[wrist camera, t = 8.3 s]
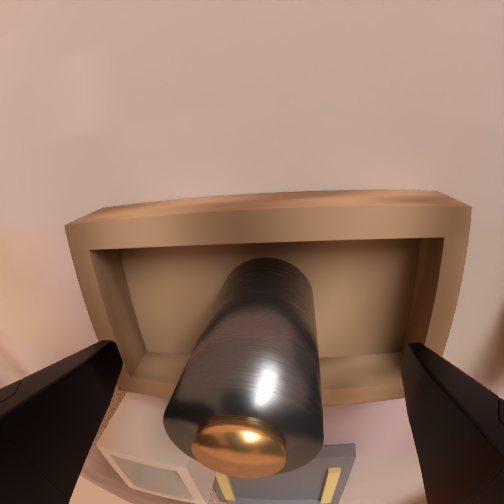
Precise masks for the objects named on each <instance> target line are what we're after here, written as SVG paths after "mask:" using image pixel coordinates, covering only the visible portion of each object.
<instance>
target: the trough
mask: <svg viewBox="0 0 504 504" xmlns="http://www.w3.org/2000/svg"><path fill="white" fill-rule="evenodd" d="M471 210H472V207H471V206H469V205H467V204H465V203H463V202H460V201H458V200H456V199H454V198H451V197H449V196H447V195H445V194H442V193H440V192H437V191H410V190H344V191H305V192H280V193H260V194H243V195H228V196H215V197H202V198H190V199H179V200H168V201H158V202H149V203H140V204H131V205H122V206H114V207H106V208H102V209H100V210H97V211H95V212H93V213H90V214H88V215H86V216H84V217H82V218H79V219H77V220H75V221H73V222H71V223H69V224H66V225H64V226H65V231H66V235H67V239H68V244H69V248H70V252H71V256H72V260H73V263H74V267H75V271H76V274H77V278H78V281H79V285H80V288H81V291H82V295H83V298H84V301H85V304H86V307H87V310H88V313H89V316H90V319H91V322H92V324H93V327H94V330H95V333H96V335H97V338H98V341H101V340H113V341H115V342H116V344H117V346H118V349H119V352H120V354H121V357H122V360H123V367H122V370H121V373H120V376H119V379H118V381H117V386H118V388H119V390H123V391H129V392H134V393H140V394H145V395H151V396H158V397H165V398H171V396H172V394H173V392H174V390H175V388H176V385H177V383H178V381H179V379H180V377H181V375H182V372H183V370H184V368H185V366H186V364H187V362H188V359H189V357H190V355H191V353H192V351H193V349H194V347H195V344H196V342H197V340H198V338H199V336H200V334H201V332H202V329H203V327H204V325H205V323H206V321H207V319H208V317H209V314H210V312H211V310H212V308H213V306H214V304H215V302H216V300H217V297H218V295H219V293H220V291H221V289H222V287H223V285H224V283H225V280H226V279H227V277H228V275H229V274H230V273H231V272H232V271H233V270H234V269H235V268H236V267H237V266H239V265H240V264H242V263H244V262H246V261H248V260H251V259H255V258H262V257H270V258H277V259H281V260H284V261H286V262H289V263H291V264H292V265H294V266H295V267H297V268H298V269H299V270H300V271H301V272H302V273H303V274H304V275H305V276H306V278H307V279H308V281H309V283H310V285H311V287H312V291H313V298H314V307H315V317H316V328H317V339H318V351H319V364H320V378H321V394H322V405H340V404H354V403H366V402H376V401H385V400H393V399H400V398H405V394H404V388H403V382H402V376H401V363H402V359H403V355H404V351H405V347H406V345H407V344H408V343H415V342H420V343H422V344H423V345H425V346H426V347H428V348H429V349H431V350H432V351H434V352H435V353H437V354H438V355H440V356H441V357H442V355H443V352H444V349H445V346H446V342H447V339H448V336H449V332H450V328H451V325H452V321H453V317H454V313H455V309H456V305H457V300H458V296H459V291H460V287H461V282H462V276H463V271H464V265H465V259H466V253H467V246H468V238H469V230H470V221H471Z"/></svg>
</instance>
